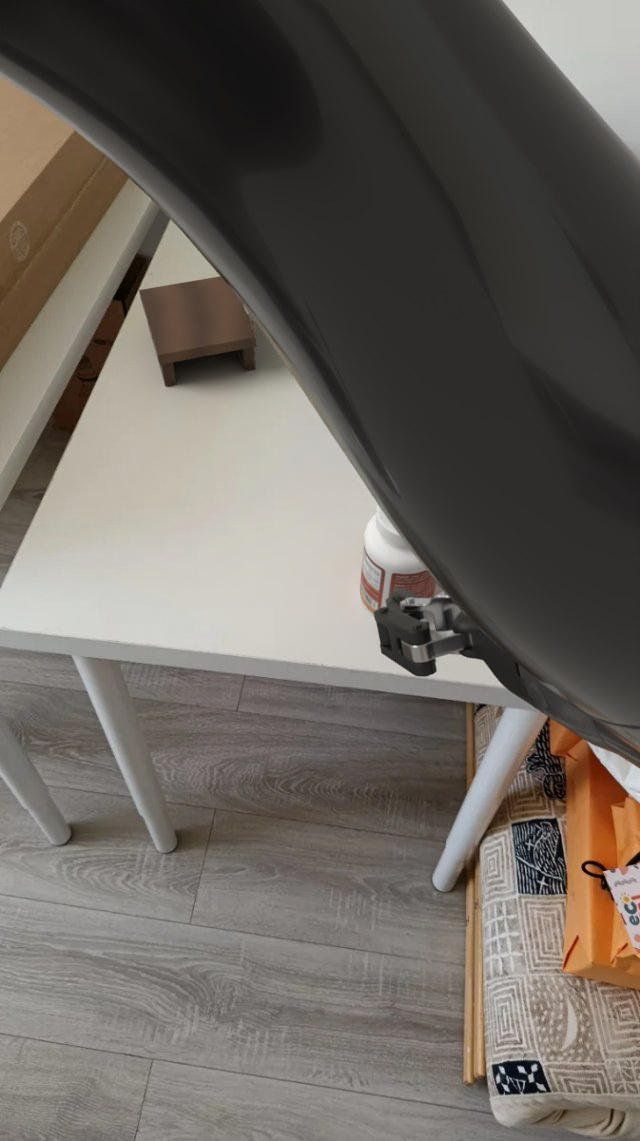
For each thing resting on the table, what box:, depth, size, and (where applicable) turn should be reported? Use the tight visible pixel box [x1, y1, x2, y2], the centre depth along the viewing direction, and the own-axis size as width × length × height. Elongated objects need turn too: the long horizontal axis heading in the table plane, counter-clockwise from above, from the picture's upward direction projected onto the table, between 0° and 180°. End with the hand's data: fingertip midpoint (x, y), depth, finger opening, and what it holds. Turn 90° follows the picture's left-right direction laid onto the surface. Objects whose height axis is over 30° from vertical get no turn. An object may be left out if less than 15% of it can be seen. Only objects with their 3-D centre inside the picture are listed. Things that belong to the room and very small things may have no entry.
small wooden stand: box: [138, 275, 258, 387], centre depth 82 cm, size 10×11×4 cm
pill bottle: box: [359, 504, 437, 617], centre depth 61 cm, size 6×6×11 cm
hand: (459, 588), depth 50 cm, fingers open, 8 cm apart
